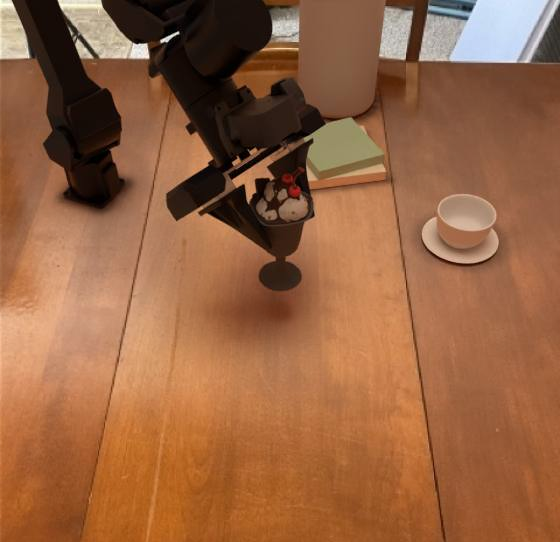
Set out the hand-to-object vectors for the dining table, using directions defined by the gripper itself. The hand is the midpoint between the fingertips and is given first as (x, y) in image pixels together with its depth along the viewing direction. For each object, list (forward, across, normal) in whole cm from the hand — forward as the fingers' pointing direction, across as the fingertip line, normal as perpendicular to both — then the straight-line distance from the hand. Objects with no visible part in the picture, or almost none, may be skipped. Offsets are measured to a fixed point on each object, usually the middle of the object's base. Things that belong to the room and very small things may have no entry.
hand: (290, 233), depth 71 cm
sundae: (+4, 0, +6) cm, 7 cm away
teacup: (+15, +25, +4) cm, 29 cm away
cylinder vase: (-9, +41, +28) cm, 51 cm away
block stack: (-2, +28, +20) cm, 35 cm away
